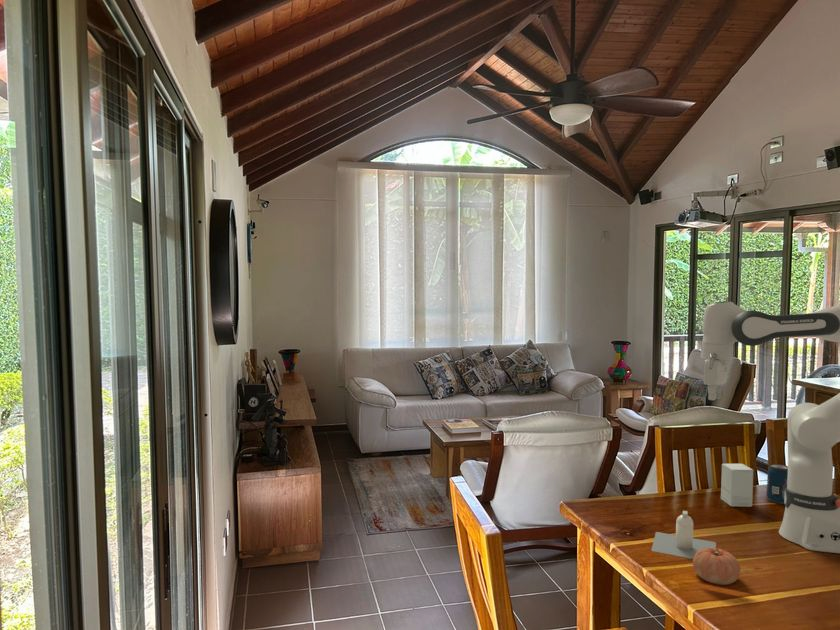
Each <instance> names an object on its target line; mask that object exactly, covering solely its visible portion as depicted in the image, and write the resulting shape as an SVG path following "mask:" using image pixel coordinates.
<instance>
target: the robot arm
mask: <svg viewBox="0 0 840 630" xmlns="http://www.w3.org/2000/svg"><path fill="white" fill-rule="evenodd" d="M701 329H702V333H703V336H702V337H703V338H702V339H701V343H700V344H701V345H700V347H701V348H700V359H704V367H703V385H705V386H706V385H707V394H708V396H707V399H708V400H709V401H715V400H720V399H721V395H722V389H723V385H725V384H727V381H728V377H729V370H730V362H731V361H732V362H733V361H734V345H735V343H740V344H743V345H744V346H750V347H755V346H759V345H762V344H764V343H766V342H768V341H771V340H774V339H780V338H794V337H796V338H797V337H812V338H814V337H815V338H819V339H822V340H825V341H828V342H834V343H840V304H838V305H834V306H833V305H832V306H829V307H826V308H823V309H820V310H817V311H813V312H809V313H799V314H798V313H795V314H781V315H777V314H775V315H773V314H768V313H764V312H763V311H759V310H746V309H745V308H742V307H740V306H739V305H737V304H735V303H734V301H729V300H725V301H715V302H711V303H710V304H708V305H707V306H706V307H705V309H704V312H703V318H702V328H701ZM838 443H840V392H839V393H838V394H836V395H834V396H833V397H831V398H829V399H827V400H826V401H824V402H822V403H820V404H817V403H812V402H802V403H801V402H800V403H798V404H796V405H795V406H793V407H792V408H791V409H790V411H789V413H788V415H787V466H788V477H787V486H786V487H785V495H784V503H783V504H784V506H785V507H784V508H785V509H784V512H783V518H782V522H781V525H780V528H779V530H778V533H779V535H780V536H781V537H782V538H784V540H788V541H789V542H792V543H794V544H797V545H799V546H801V547H803V548H804V549H806V550H810V551H816V552H822V553H823V552H824V553H835V554H840V497H839V496H838V495H837V494H836V493H833V477H834V464H833V453H832V448H833V447H834V446H835V445H836V444H838Z"/></svg>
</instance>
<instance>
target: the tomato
mask: <svg viewBox="0 0 840 630" xmlns="http://www.w3.org/2000/svg"><path fill="white" fill-rule="evenodd" d="M692 566H693V568H694V571H695V573H696V574H697V575H698V577H700V578H701V579H702V580H704V581H706V582H708V583H710V584H714V585H719V586H720V585H722V586H725V585H731V584H733V583H735V582H736V581H737V580H738V579H739V577H740V575H741V565H740V562H739V561H738V560H737V558H736V557H735V556H734V555H733V554H732V553H730V552H729V551H726V550H723V549H721V548H717V547H716V548H703V549H701V550H700V551H698V552H697V553H696V554H695V556H694V558H693V559H692Z"/></svg>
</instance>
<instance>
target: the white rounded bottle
mask: <svg viewBox="0 0 840 630" xmlns="http://www.w3.org/2000/svg"><path fill="white" fill-rule="evenodd" d="M675 521H676V522H675V535H676V547H678V548H680V549H683V550H691V549H693V538H694V520H693V519H692V517H691V516H689V515H688V510H682V514H680V515H678V516H677V518H676V520H675Z"/></svg>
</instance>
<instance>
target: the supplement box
mask: <svg viewBox="0 0 840 630" xmlns="http://www.w3.org/2000/svg"><path fill="white" fill-rule="evenodd" d="M720 486H721V487H720V499H721V500H722V501H723V502H724V503H726V504H727V505H729V506H730V507H743V508H744V507H753V495H754V493H753V491H754V490H753V489H754V469H752V468H751V467H749V466H747V465H746V464H744V463H722V464H721V485H720Z"/></svg>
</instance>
